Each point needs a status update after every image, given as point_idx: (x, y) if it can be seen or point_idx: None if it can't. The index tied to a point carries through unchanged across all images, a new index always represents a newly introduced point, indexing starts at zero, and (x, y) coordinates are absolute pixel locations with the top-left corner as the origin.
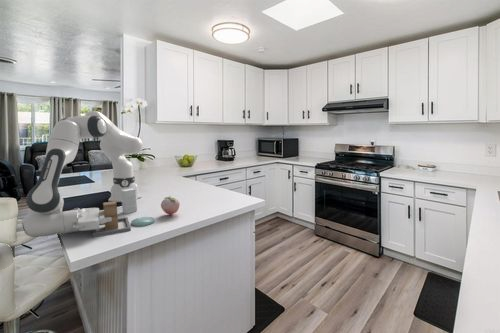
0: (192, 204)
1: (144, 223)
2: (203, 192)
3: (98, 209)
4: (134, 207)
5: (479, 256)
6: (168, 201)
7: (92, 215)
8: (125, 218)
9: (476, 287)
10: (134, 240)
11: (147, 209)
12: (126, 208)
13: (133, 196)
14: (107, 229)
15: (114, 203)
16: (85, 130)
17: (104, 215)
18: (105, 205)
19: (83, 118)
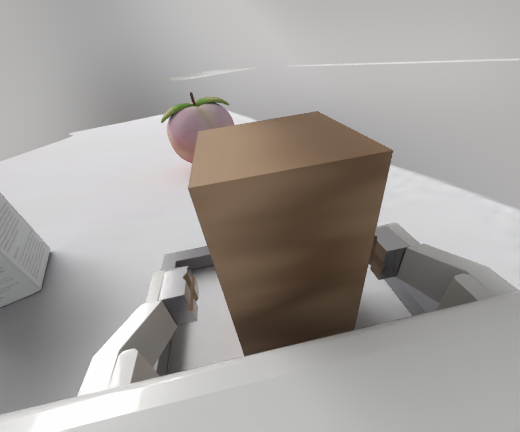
0: (144, 149)
1: None
2: (55, 146)
3: (45, 408)
4: (33, 238)
5: (417, 62)
6: (215, 109)
7: (469, 426)
8: (184, 259)
9: (477, 60)
10: (478, 199)
11: (72, 220)
12: (17, 264)
13: None
14: None
15: (288, 121)
16: None
17: (366, 267)
18: (373, 142)
19: None
